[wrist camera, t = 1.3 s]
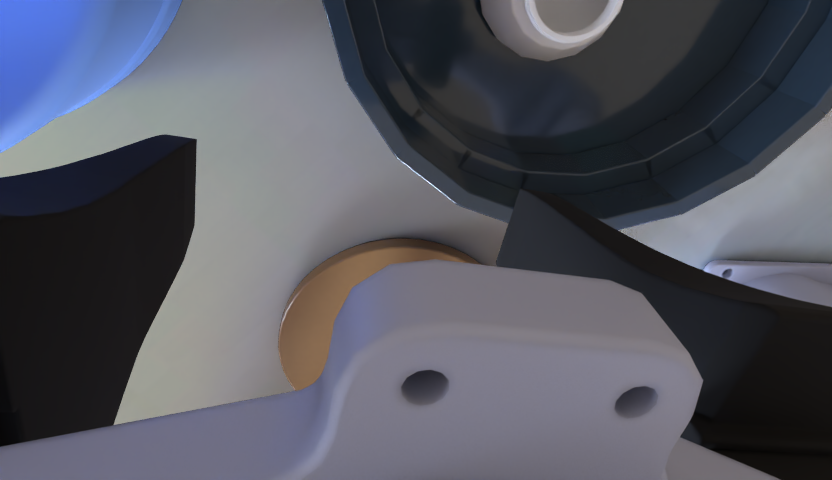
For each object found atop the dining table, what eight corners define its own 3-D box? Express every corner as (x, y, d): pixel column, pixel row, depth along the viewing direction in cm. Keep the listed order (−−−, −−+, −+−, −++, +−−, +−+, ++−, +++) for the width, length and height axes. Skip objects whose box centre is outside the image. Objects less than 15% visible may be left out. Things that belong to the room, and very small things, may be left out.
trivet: (530, 241, 25) (535, 250, 24) (491, 419, 30) (494, 431, 30) (276, 233, 24) (273, 242, 23) (282, 420, 29) (281, 433, 28)
